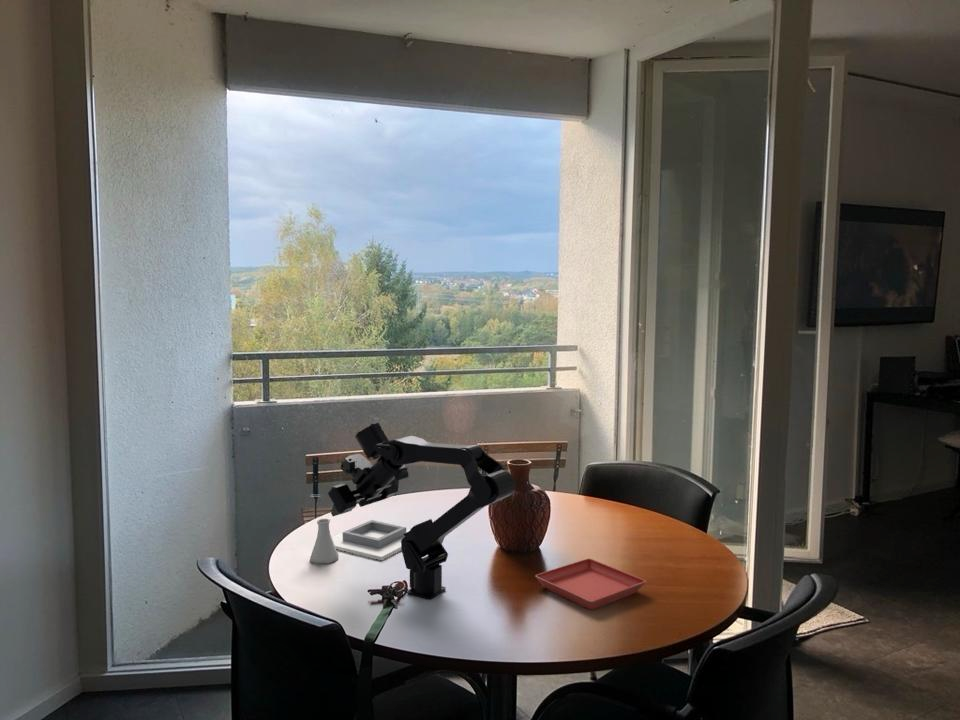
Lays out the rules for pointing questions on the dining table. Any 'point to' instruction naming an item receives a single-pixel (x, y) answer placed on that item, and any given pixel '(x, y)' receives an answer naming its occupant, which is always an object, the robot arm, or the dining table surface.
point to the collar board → (371, 539)
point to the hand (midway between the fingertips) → (346, 509)
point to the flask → (324, 544)
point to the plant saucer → (590, 583)
